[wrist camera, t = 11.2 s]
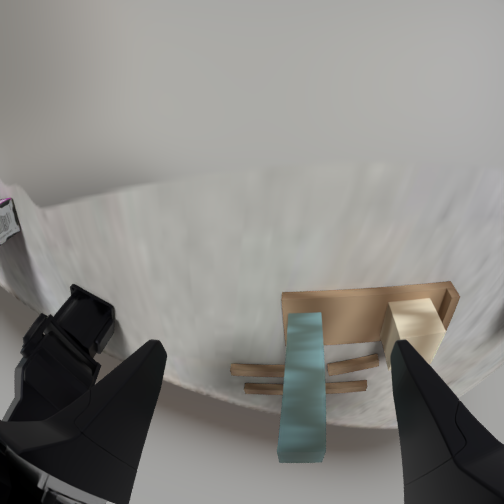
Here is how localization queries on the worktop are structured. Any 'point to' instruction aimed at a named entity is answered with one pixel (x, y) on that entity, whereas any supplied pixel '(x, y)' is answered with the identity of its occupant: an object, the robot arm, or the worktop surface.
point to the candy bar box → (7, 220)
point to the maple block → (412, 327)
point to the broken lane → (329, 387)
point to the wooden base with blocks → (330, 333)
